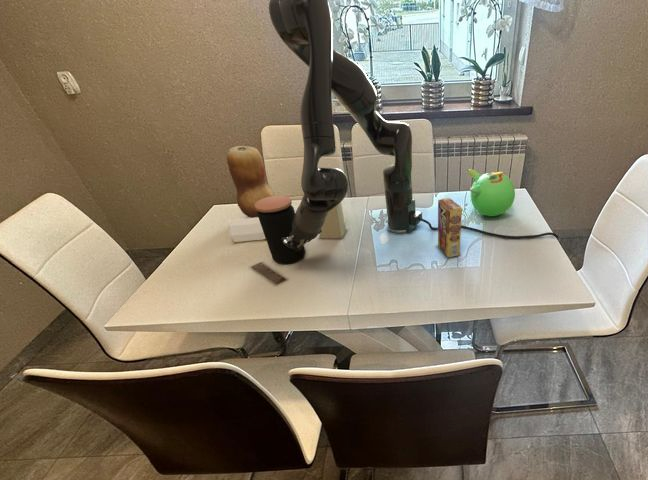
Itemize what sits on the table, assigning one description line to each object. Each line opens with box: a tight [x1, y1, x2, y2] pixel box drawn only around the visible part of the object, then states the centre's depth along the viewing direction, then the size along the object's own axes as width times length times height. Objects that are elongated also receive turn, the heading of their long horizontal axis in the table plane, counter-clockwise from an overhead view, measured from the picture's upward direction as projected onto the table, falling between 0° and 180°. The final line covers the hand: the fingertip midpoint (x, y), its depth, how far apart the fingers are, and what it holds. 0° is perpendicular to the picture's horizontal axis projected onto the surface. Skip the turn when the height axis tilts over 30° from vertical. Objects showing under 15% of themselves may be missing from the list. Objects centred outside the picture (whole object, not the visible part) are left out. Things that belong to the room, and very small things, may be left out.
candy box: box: [437, 197, 463, 258], centre depth 116 cm, size 9×4×15 cm, turn 20°
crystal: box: [227, 217, 266, 243], centre depth 133 cm, size 7×7×24 cm
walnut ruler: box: [251, 262, 286, 285], centre depth 116 cm, size 15×3×1 cm, turn 46°
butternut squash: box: [226, 145, 274, 218], centre depth 139 cm, size 14×13×25 cm
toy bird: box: [467, 168, 516, 217], centre depth 136 cm, size 18×17×15 cm
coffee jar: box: [254, 195, 306, 265], centre depth 117 cm, size 11×11×18 cm
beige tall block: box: [318, 201, 347, 239], centre depth 127 cm, size 8×7×21 cm
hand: (296, 248), depth 117 cm, fingers closed
